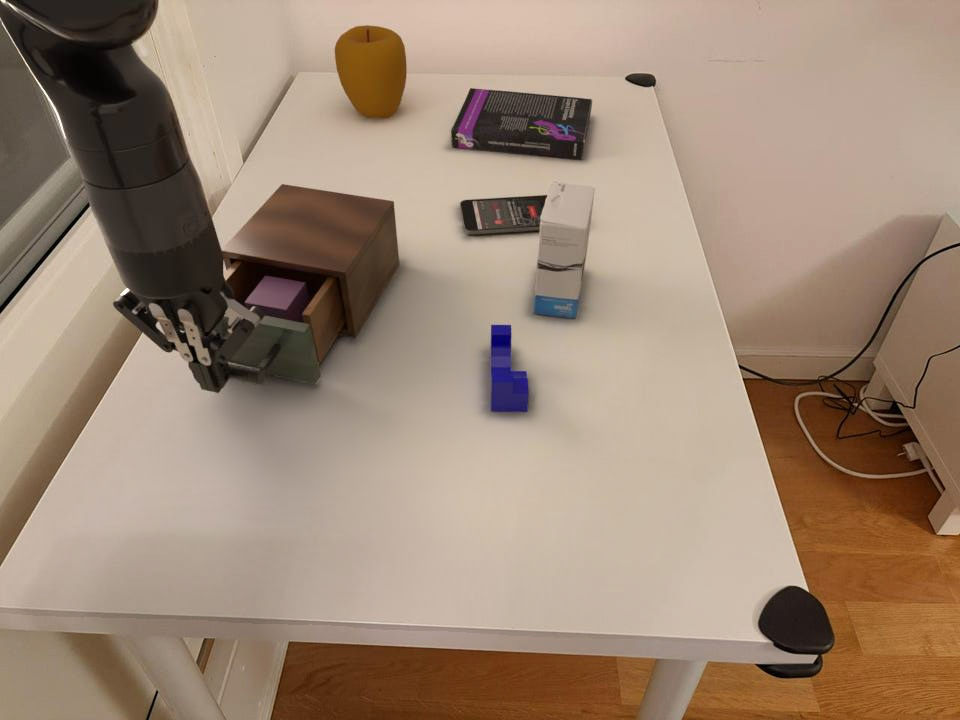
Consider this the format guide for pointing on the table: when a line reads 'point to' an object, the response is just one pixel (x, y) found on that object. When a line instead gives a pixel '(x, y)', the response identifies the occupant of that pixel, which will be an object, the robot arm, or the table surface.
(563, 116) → the box
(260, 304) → the block
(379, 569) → the table surface
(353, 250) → the cabinet
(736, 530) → the table surface
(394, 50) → the apple
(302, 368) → the drawer
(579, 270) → the ink box
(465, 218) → the smartphone
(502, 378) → the cable holder
